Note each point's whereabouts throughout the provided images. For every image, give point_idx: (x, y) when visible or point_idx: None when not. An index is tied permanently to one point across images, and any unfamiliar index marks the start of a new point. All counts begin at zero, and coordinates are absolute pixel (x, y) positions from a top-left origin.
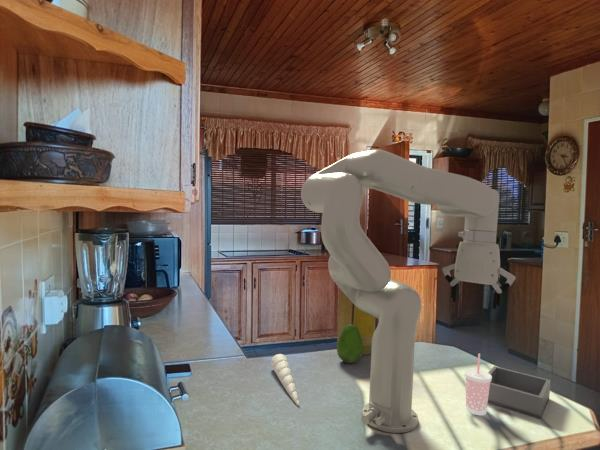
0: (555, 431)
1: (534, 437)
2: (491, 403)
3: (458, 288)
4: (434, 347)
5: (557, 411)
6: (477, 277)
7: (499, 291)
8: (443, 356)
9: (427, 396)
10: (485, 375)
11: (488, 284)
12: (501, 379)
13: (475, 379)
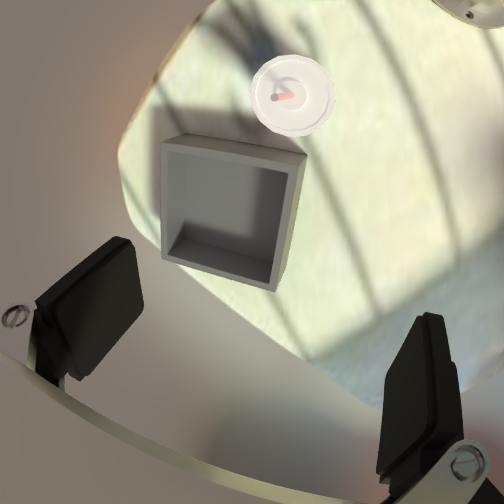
0: (161, 98)
1: (190, 47)
2: (279, 149)
3: (389, 450)
4: None
5: None
6: (52, 485)
7: (18, 315)
8: None
9: (428, 115)
10: (270, 102)
11: (9, 355)
12: (263, 266)
13: (294, 55)
